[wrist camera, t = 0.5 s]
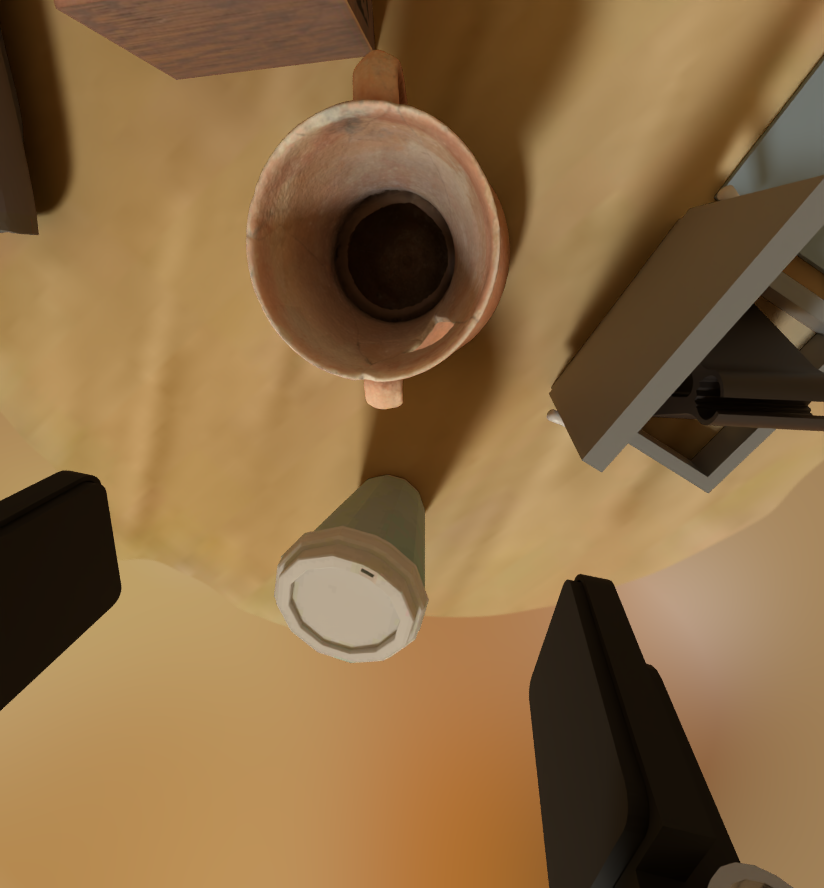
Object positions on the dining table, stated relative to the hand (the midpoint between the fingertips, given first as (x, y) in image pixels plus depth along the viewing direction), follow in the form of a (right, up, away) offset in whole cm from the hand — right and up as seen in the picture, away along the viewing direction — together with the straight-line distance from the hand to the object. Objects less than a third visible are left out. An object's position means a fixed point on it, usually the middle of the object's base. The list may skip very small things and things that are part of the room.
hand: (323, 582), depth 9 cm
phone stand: (+22, +9, +25) cm, 35 cm away
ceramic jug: (+2, +17, +25) cm, 30 cm away
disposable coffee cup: (-1, -3, +33) cm, 33 cm away
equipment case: (+22, +9, +25) cm, 35 cm away
